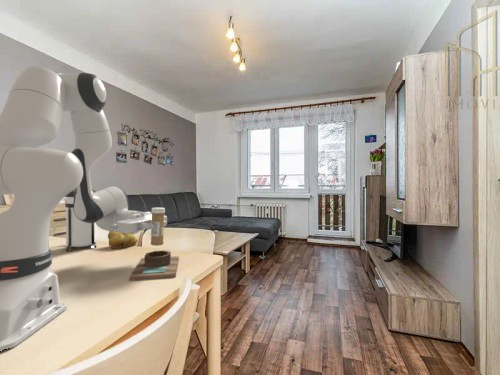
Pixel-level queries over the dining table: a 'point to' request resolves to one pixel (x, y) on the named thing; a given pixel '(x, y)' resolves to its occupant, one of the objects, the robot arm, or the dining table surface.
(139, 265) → the socket board
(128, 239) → the bread roll
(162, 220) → the sprinkles bottle
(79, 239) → the coffee press
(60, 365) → the dining table surface
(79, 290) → the dining table surface
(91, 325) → the dining table surface
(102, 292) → the dining table surface
